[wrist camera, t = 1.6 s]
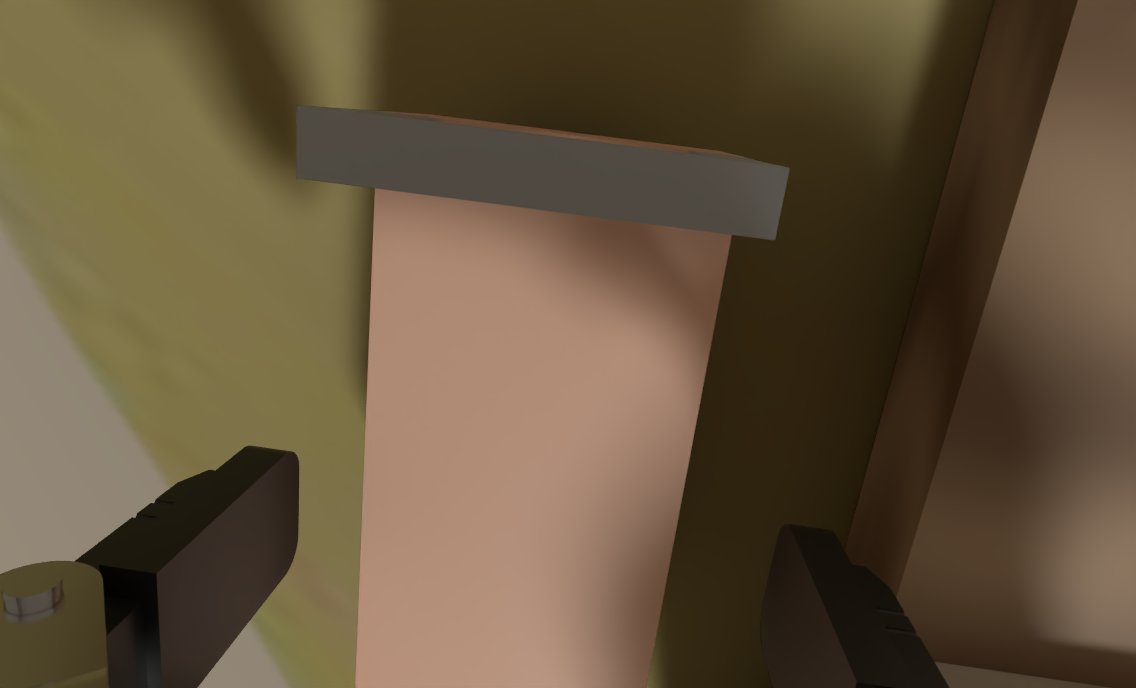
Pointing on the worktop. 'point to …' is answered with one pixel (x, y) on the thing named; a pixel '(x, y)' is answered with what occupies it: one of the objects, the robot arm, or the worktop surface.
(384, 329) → the tan board with wheels
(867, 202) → the worktop surface
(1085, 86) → the dock
